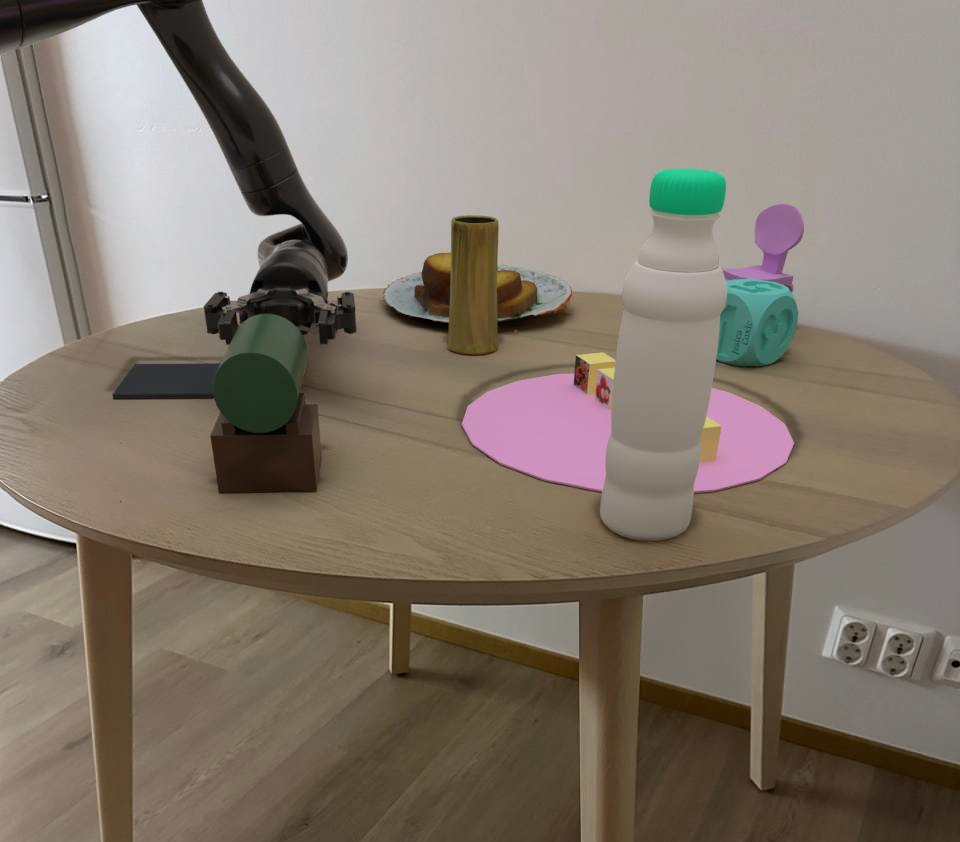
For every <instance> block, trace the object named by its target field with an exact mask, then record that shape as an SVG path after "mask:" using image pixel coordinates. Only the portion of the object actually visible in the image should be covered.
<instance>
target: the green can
mask: <svg viewBox="0 0 960 842" xmlns="http://www.w3.org/2000/svg"><path fill="white" fill-rule="evenodd" d="M308 353H309V352H308V345H307V342H306V340H305V337H304V335H302V334H301V332H300V331H299V329H298V328H297V327H296V326H295V325H294V324H293V323H291V322H290V321H289V320H287V319H285V318H283V317H281V316H278V315H274V314H259V315H255V316H252V317H250V318H249V319H247V320H246V321H244V322H243V323H242V324H241V325H240V326H239V328H238V329H237V331H236V333H235V335H234V337H233V339H232V341H231V343H230V345H228V347H227V350H226V351H225V353H224V355H223V358H222V360H221V362H220V363H221V364H220V366H219V368H218V370H217V372H216V374H215V377H214V381H213V395H214V397H213V400H214V402H215V406H216V407H217V409H218V411H219V413H220V412H221V414H222V415H223V416H224V417H225V418H226V419H227V420H228V421H229V422H230V423H232V424H233V425H234V426H236V427H238V428H240V429H242V430H245V431H248V432H253V433H266V432H271V431H274V430H276V429H278V428H280V427H282V426H283V425H285V424H286V423H287V422H288V421H289V420H290V418H291V417H292V415H293V414H294V411H295V409H296V405H297V401H298V397H299V393H301V389H302V388H301V387H302V384H303V379H304V377H305V371H306V367H307V362H308V358H309V357H308V356H309V354H308Z"/></svg>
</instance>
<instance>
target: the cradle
mask: <svg viewBox="0 0 960 842" xmlns="http://www.w3.org/2000/svg"><path fill="white" fill-rule="evenodd" d="M319 418H320V417H319V407H318V404H317V403H306V394H305V392H300V393H299V397H298V401H297V405H296V409H295V411H294V414H293V415H292V417H291V418H290V420H289V421H288V422H287V423H286V424H285V425H283V426H282V427H280V428H278V429H276V430H274V431H271V432H266V433H253V432H248V431H245V430H242V429H240V428H238V427H236V426H234V425H233V424H232V423H230V422H229V421H228V420H227V419H226V418H225V417H224V416H223V415H222V414H221V412H220V411H219V413H218V416H217V419H216V421H215V423H214V426H213V428H212V430H211V433H210V436H209V437H210V443H211V451H212V457H213V464H214V471H215V477H216V484H217V489H218V493H219V494H226V493H227V494H234V493H235V494H237V493H238V494H239V493H241V494H242V493H295V492H296V493H298V492H303V493H304V492H317V491H318V486H319V478H320V473H321V465H322V459H323V456H322V455H323V454H322V443H321V432H320V431H321V430H320V419H319Z"/></svg>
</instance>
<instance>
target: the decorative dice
mask: <svg viewBox="0 0 960 842" xmlns="http://www.w3.org/2000/svg"><path fill="white" fill-rule="evenodd" d="M726 285H727V299H726V303H725V307H724V309H723V311H722V312H721V314H720V329H719V340H718V349H717V357H716V361H717V360H718V361H717V362H720V363H724V364H726V363H727V365H731V366H739V367H747V366H751V368H752V366H756V367H765V366H770V365H772V364H773V363H775V362H776V361H778V360H779V359H780V358H781V357H782V356H784V354H785V353H786V352H787V350H788V348H789V347H790V345H791V344H792V341H793V339H794V336H795V335H796V334H795V333H796V330H797V327H798V321H799V309H798V305H797V301H796V299H795V297H794V294H793V292H792V293H791V291H790V290H789V288H788V287H786V286H784V285H782V284H779V283H775V282H771V281H765V280H755V279H734V280H728V281H726Z"/></svg>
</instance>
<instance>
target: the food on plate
mask: <svg viewBox="0 0 960 842" xmlns="http://www.w3.org/2000/svg"><path fill="white" fill-rule="evenodd" d="M421 269H422V270H421V271H420V272H418V273H417V272H415V273H413V274H409V275H406V276H405V277H400V278H399V279H398V278H397V279H396V280H395V281H393V282H391V283H390V284H387V287H386V288H383V292H382V294H383V301H385V302H386V303H387V305H388V306H389V307H393V308H394V309H395V310H396V312H397V313H401V314H404V315H408V316H409V317H411V318H412V317H416V318H421V319H428V320H432V321H433V322H441V323H446V324H447V323H448V324H449V311H450V282H451V252H437V253H434V254H432V255H428V256H427V258H425V259H424V262H423V266H422V268H421ZM572 297H573V290H572V287H571V286H570V285H569V284H568V282H566V280H563V279H561V278H560V277H557V276H555V275H552V274H548V273H545V272H543V271H538V270H533V269H529V268H525V267H522V266H519V267H514V266H512V265H506V264H497V323H501V322H502V323H503V322H509V321H513V320H519V319H523V318H527V317H530V316H531V315H533V316H535V317H537V316H539V315H541V316H542V315H545V314H552V313H553V312H554V313H555V314H556V313H557V311H559V310H561V309H563V310H562V311H561V312H560V314H559V316H558V317H559V318H565V317H566V315H564V313H563V312H564V308H566V307H567V305H568V303H570V301H571V298H572ZM513 332H514V333H516V332H518V329H515V330H513Z"/></svg>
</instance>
